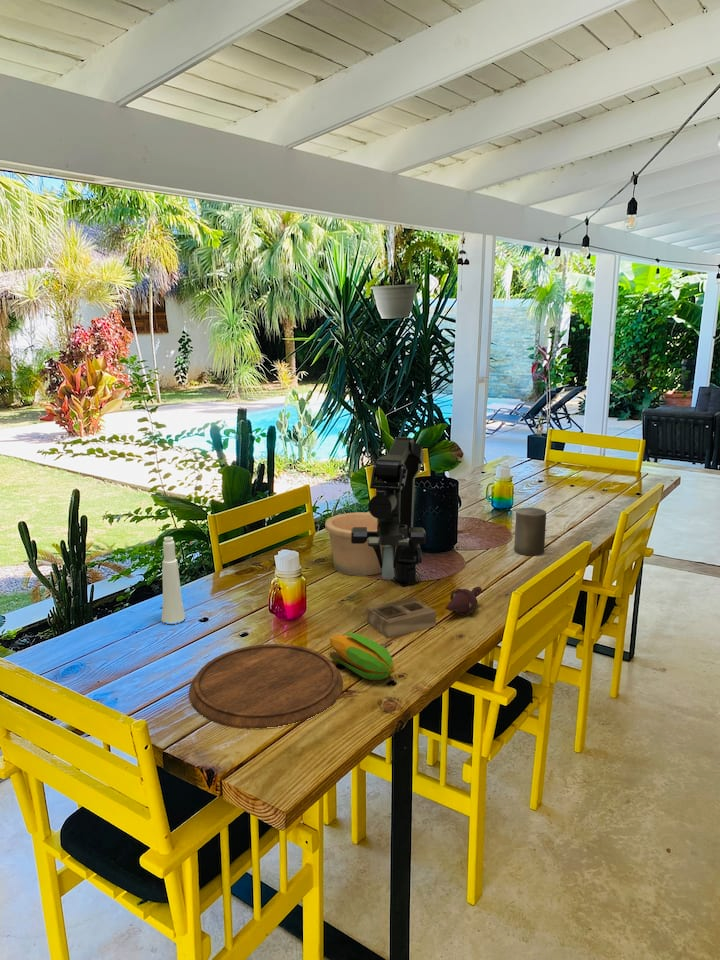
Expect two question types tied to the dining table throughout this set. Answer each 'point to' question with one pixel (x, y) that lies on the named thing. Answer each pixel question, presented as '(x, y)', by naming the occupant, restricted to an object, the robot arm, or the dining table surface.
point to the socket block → (401, 617)
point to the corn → (363, 656)
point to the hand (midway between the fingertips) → (387, 567)
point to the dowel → (387, 562)
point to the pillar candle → (530, 531)
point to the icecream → (463, 600)
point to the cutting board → (265, 686)
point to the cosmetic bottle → (171, 585)
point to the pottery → (348, 554)
